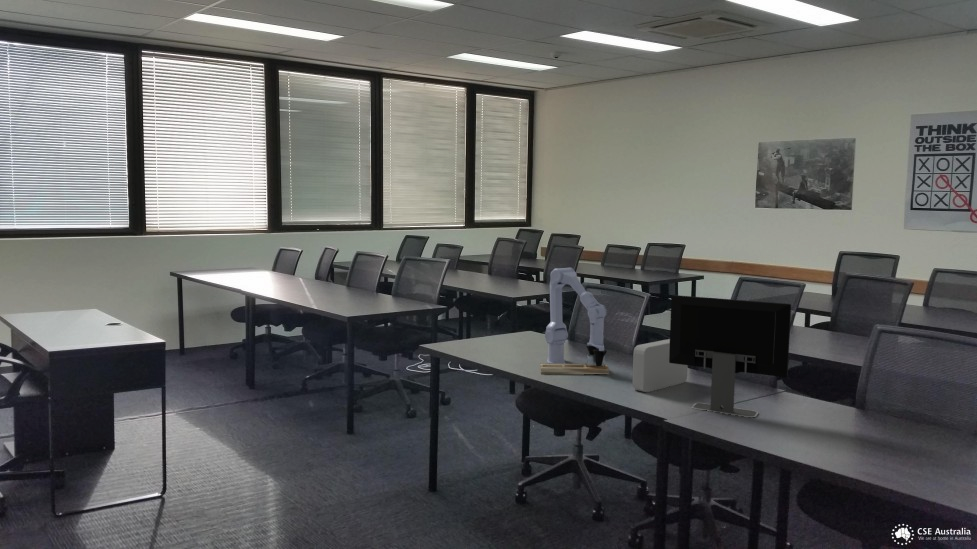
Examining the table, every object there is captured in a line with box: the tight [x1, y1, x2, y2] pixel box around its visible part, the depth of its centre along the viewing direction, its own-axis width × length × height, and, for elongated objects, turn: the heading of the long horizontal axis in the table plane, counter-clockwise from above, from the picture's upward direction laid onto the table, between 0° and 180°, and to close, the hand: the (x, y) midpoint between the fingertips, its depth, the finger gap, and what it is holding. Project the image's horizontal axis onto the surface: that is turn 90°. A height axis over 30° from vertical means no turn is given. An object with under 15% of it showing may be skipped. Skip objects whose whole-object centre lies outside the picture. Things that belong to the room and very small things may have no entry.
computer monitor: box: [669, 294, 792, 418], centre depth 260 cm, size 41×8×40 cm, turn 59°
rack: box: [539, 362, 610, 375], centre depth 318 cm, size 9×29×3 cm, turn 88°
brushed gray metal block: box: [586, 354, 606, 367], centre depth 318 cm, size 2×7×6 cm, turn 96°
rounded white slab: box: [632, 338, 689, 393], centre depth 295 cm, size 29×8×18 cm, turn 129°
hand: (596, 363), depth 318 cm, fingers open, 7 cm apart
